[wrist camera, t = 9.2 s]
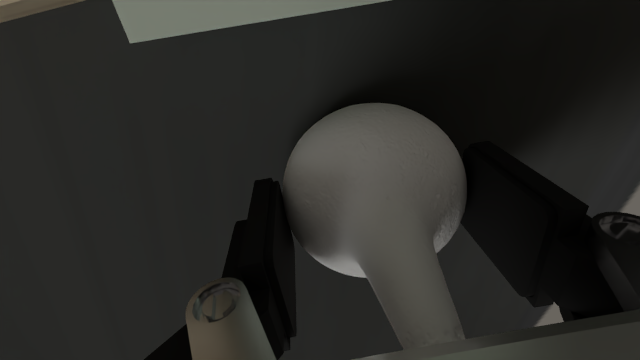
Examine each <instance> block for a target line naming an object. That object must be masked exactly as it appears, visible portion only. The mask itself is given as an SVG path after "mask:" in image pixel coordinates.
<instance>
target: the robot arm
mask: <svg viewBox="0 0 640 360" xmlns="http://www.w3.org/2000/svg"><path fill="white" fill-rule="evenodd" d="M463 165H464V168H465V173H466V179H467V199H466V205H465V212H464V214H463V216H462V219H461V221H460V223H461V224H462V225H463V226H464V228H465V229H466V230H467V231H468V232H469V234H470V235H471V236H472V237H473V239H474V240H475V241H476V242H477V244H478V245H479V246H480V247H481V249H482V250H483V251H484V252H485V254H486V255H487V256H488V257H489V258H490V260H491V261H492V262H493V263H494V265H495V266H496V267H497V268H498V270H499V271H500V272H501V273H502V275H503V276H504V277H505V278H506V280H507V281H508V282H509V283H510V284H511V286H512V287H513V288H514V289H515V291H516V292H517V293H518V294H519V295H520V296H522V297H526V298H527V299H528V301H529V302H530V303H531V304H532V306H533V307H540V306H546V305H551V304H553V302H555V303H556V304H557V305H558V306H559V308H560V313H561V315H562V318H563V320H564V322H562V323H556V324H550V325H545V326H539V327H533V328H527V329H521V330H515V331H510V332H504V333H498V334H492V335H487V336H481V337H475V338H470V339H464V340H458V341H452V342H447V343H441V344H435V345H430V346H424V347H419V348H413V349H407V350H402V351H396V352H391V353H385V354H380V355H374V356H369V357H363V358H357V359H352V360H640V216H636V215H632V214H628V213H621V212H604V213H600V214H597V215H595V216H594V217H593V218H591V217H589V216H588V215H586V213H587V210H588V207H589V206H588V205H586V204H585V203H583V202H582V201H580V200H579V199H577V198H576V197H574V196H573V195H571V194H570V193H568V192H566V191H565V190H563V189H562V188H560V187H559V186H557V185H556V184H554V183H553V182H551V181H550V180H548V179H547V178H545V177H543V176H542V175H540V174H539V173H537V172H536V171H534V170H533V169H531V168H530V167H528V166H527V165H525V164H524V163H522V162H520V161H519V160H517V159H516V158H514V157H513V156H511V155H510V154H508V153H507V152H505V151H504V150H502V149H501V148H499V147H497V146H496V145H494V144H493V143H491V142H489V141H486V142H480V143H474V144H470V145H469V147H468V149H465V150H464V153H463ZM186 322H187V324H186V325H185V326H183V327H182V328H181V329H180V330H179V331H178V332H176V333H175V334H174V335H173V336H172V337H170V338H169V339H168V340H167V341H166V342H164V343H163V344H162V345H161V346H160V347H158V348H157V349H156V350H155V351H154V352H152V353H151V354H150V355H149V356H148V357H146V358H145V359H144V360H278V359H279V358H280V357H281V356H282V354H283V353H284V351H287V350H290V337H295V336H296V292H295V250H294V242H293V238H292V234H291V230H290V226H289V223H288V221H287V217H286V213H285V208H284V202H283V197H282V193H281V189H280V185H279V182H278V181H275V182H273V180H272V178H268V179H262V180H256V181H255V183H254V188H253V193H252V198H251V203H250V208H249V213H248V218H247V220H242V221H237V222H236V224H235V227H234V231H233V235H232V239H231V243H230V247H229V251H228V255H227V259H226V263H225V266H224V270H223V274H222V278H220V279H217V280H214V281H211V282H209V283H208V284H206V285H204V286H203V287H201V288H200V289H199V290H198V291H197V292H196V293H195V294H194V295H193V297H192V298H191V299H190V301H189V303H188V305H187V308H186Z"/></svg>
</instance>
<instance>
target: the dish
mask: <svg viewBox="0 0 640 360" xmlns="http://www.w3.org/2000/svg"><path fill="white" fill-rule="evenodd" d="M112 1H113V3H114V6H115V8H116V11H117V13H118V15H119V18H120V20H121V23H122V25H123V27H124V30H125V32H126V35H127V37H128V39H129V42H130V43H135V42H141V41H147V40H153V39H159V38H166V37H172V36H178V35H184V34H190V33H196V32H202V31H208V30H214V29H220V28H226V27H232V26H238V25H244V24H251V23H257V22H263V21H269V20H275V19H281V18H287V17H293V16H299V15H305V14H311V13H317V12H323V11H329V10H336V9H342V8H348V7H354V6H360V5H366V4H372V3H378V2H384V1H390V0H112Z"/></svg>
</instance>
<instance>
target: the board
mask: <svg viewBox="0 0 640 360" xmlns="http://www.w3.org/2000/svg"><path fill="white" fill-rule="evenodd" d="M81 1H84V0H0V23H2V22H5V21H9V20H13V19H17V18H20V17H24V16H28V15H32V14H35V13H39V12H43V11H47V10H51V9H54V8H58V7H62V6H66V5H69V4H73V3H77V2H81Z"/></svg>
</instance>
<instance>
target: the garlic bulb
mask: <svg viewBox="0 0 640 360" xmlns="http://www.w3.org/2000/svg"><path fill="white" fill-rule="evenodd" d="M282 190H283V192H282V194H283V202H284V208H285V213H286V217H287V221H288V223H289V226H290V228H291V230H292V232H293V234H294V236H295V237H296V239H297V240H298V241H299V243H300V244H301V246H302V247H303V248H304V249H305V250H306V251H307V252H308V253H309V254H310V255H311V256H312V257H313V258H315V259H316V260H317V261H319V262H320V263H322V264H323V265H325V266H326V267H328V268H330V269H332V270H335V271H337V272H340V273H343V274H346V275H351V276H355V277H365V278H367V279H368V281H369V283H370V284H371V286H372V288H373V290H374V292H375V294H376V296H377V298H378V300H379V302H380V304H381V306H382V308H383V310H384V312H385V314H386V316H387V318H388V320H389V322H390V324H391V325H392V328H393V330H394V332H395V334H396V336H397V338H398V340H399V342H400V344H401V345H402V347H403V349H404V350H407V349H413V348H419V347H424V346H430V345H435V344H441V343H447V342H452V341H458V340H464V339H465V336H464V333H463V330H462V326H461V323H460V321H459V318H458V315H457V312H456V309H455V306H454V304H453V301H452V299H451V296H450V293H449V291H448V288H447V285H446V282H445V279H444V276H443V273H442V271H441V268H440V264H439V262H438V258H437V254H436V253H437V252H439V251H440V249H441V248H443V246H445V245H446V243H448V242H449V240H450V239H451V237H452V236H453V234H454V233H455V231H456V230H457V228H458V226H459V224H460V221H461V219H462V216H463V214H464V212H465V205H466V199H467V179H466V173H465V168H464V165H463V162H462V160H461V157H460V155H459V153H458V151H457V149H456V147H455V146H454V144H453V143H452V141H451V140H450V139H449V137H448V136H447V135H446V134H445V133H444V132H443V131H442V130H441V129H440V128H439V127H438V126H437V125H436V124H434V123H433V122H432V121H430V120H429V119H427V118H426V117H424V116H423V115H421V114H419V113H417V112H415V111H413V110H411V109H407V108H405V107H402V106H400V105H394V104H386V103H365V104H356V105H352V106H348V107H345V108H342V109H339V110H337V111H335V112H333V113H330V114H329V115H327V116H325V117H324V118H322V119H321V120H319V121H318V122H317V123H315V124H314V125H313V126H312V127H311V128H310V129H308V130H307V132H305V133H304V135H303V136H302V137H301V138H300V140H299V141H298V143H297V144H296V146H295V148H294V149H293V151H292V153H291V155H290V157H289V159H288V162H287V166H286V169H285V174H284V178H283V189H282Z"/></svg>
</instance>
